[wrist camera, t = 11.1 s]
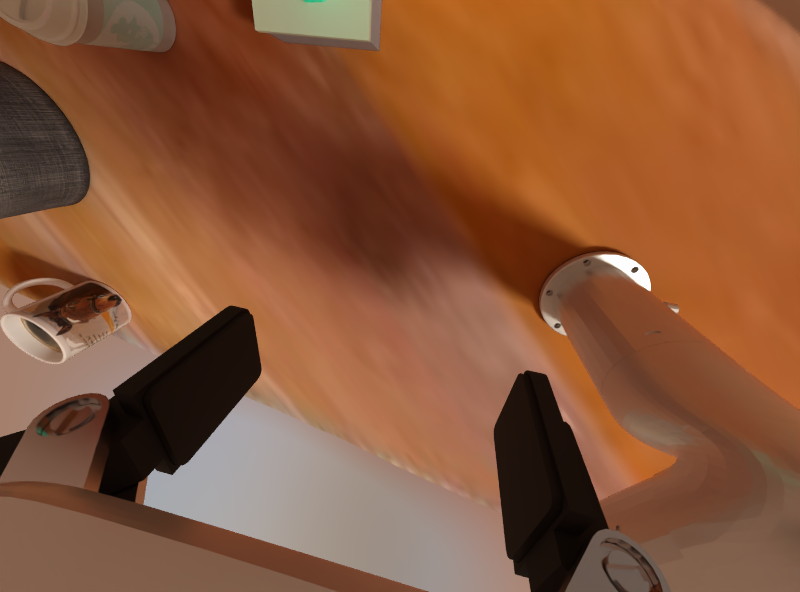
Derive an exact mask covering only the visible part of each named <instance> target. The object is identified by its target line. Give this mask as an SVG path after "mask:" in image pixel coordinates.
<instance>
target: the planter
mask: <svg viewBox="0 0 800 592" xmlns="http://www.w3.org/2000/svg"><path fill="white" fill-rule="evenodd" d="M89 183H90V173H89V166H88V161H87V158H86V155H85V152H84V149H83V147H82V144H81V142H80V140H79V138H78V136H77V134H76V133H75V131H74V129H73V127H72V126H71V124H70V123H69V121H68V120H67V118H66V117H65V115H64V114H63V113H62V112H61V110H60V109H59V108H58V107H57V105H56V104H55V103H54V102H53V101H52V100H51V98H50V97H49V96H48V95H47V94H46V93H45V92H44V91H43V90H42V89H41V88H39V87H38V86H37V85H36V84H35V83H34V82H33V81H31V80H30V79H29V78H27V77H26V76H25V75H23V74H22V73H20V72H19V71H17V70H16V69H14V68H12V67H10V66H8V65H6V64H4V63H2V62H0V219H2V218H7V217H12V216H17V215H21V214H26V213H31V212H36V211H41V210H46V209H51V208H56V207H63V206H69V205H73V204H76V203H78V202H80V201H81V200H82V199H83V198H84V197H85V195H86V193H87V191H88V188H89Z"/></svg>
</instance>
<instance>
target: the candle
mask: <svg viewBox="0 0 800 592" xmlns="http://www.w3.org/2000/svg"><path fill="white" fill-rule="evenodd" d="M303 1H304V2H306V3H310V2H324V1H325V0H303Z"/></svg>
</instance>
